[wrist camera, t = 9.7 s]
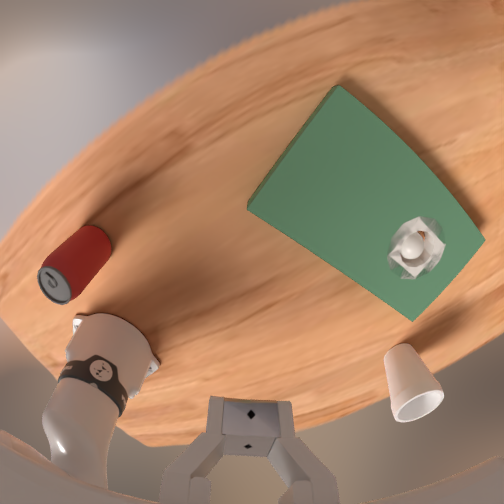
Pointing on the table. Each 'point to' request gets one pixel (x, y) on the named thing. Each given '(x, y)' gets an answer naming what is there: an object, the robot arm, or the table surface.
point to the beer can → (74, 264)
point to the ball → (412, 246)
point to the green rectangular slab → (367, 205)
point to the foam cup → (410, 384)
